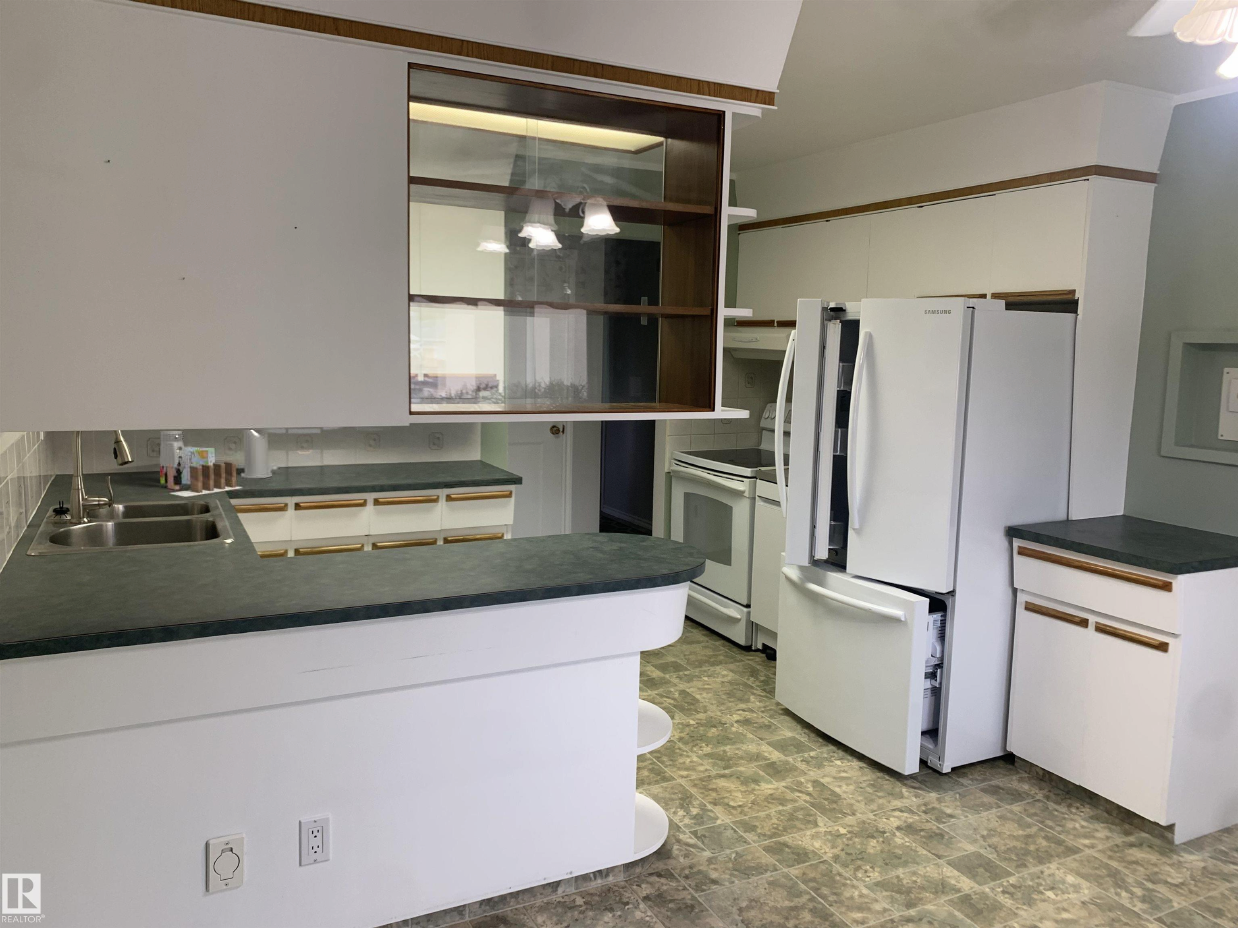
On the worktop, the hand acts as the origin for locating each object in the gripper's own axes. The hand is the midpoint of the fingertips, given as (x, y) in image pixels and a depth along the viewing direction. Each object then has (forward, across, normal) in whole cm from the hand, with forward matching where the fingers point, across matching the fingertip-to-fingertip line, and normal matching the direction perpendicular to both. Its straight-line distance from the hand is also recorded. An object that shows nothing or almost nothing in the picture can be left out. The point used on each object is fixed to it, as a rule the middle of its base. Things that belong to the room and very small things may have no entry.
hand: (173, 483), depth 348 cm
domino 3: (+2, -13, -6) cm, 14 cm away
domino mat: (+2, -13, -6) cm, 14 cm away
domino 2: (+2, -13, -1) cm, 13 cm away
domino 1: (+3, 0, 0) cm, 3 cm away
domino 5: (+2, -13, -16) cm, 21 cm away
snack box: (+3, +7, -11) cm, 13 cm away
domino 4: (+2, -13, -11) cm, 17 cm away
